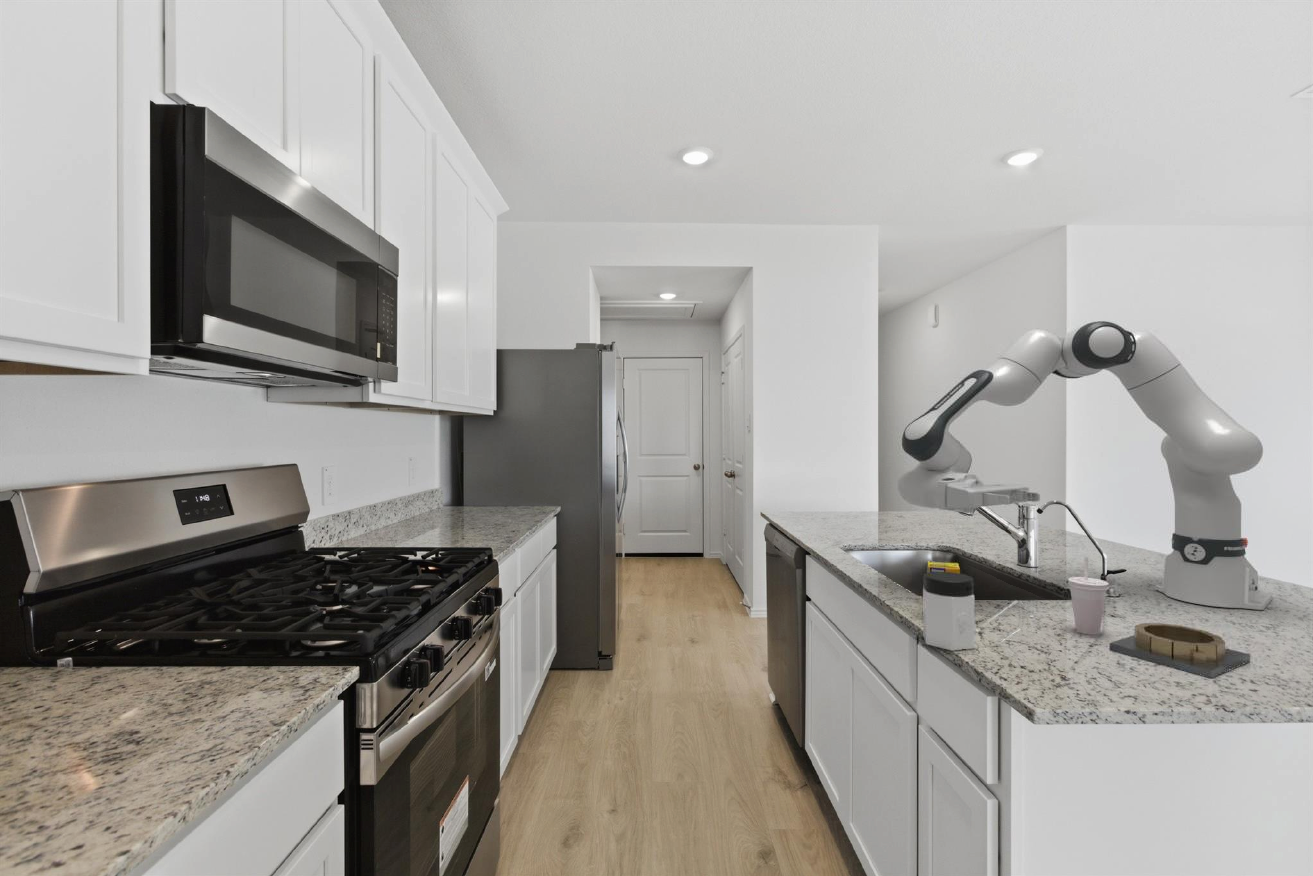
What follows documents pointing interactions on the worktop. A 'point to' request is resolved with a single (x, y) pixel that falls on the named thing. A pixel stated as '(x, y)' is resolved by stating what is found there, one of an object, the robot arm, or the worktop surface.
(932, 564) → the supplement box
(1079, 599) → the smoothie
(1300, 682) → the worktop surface
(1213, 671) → the socket
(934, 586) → the jar
